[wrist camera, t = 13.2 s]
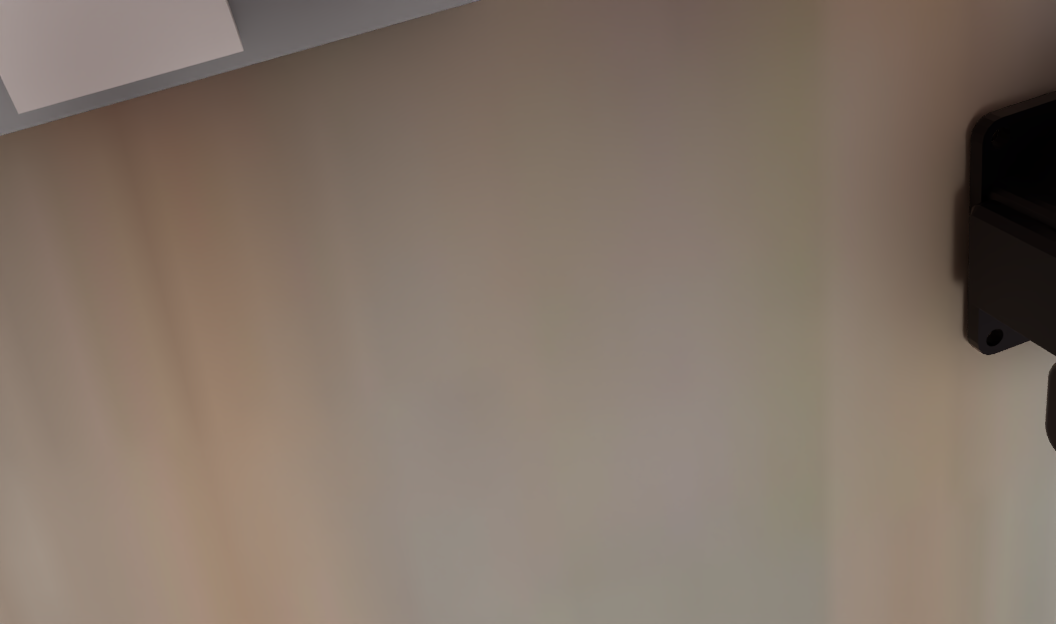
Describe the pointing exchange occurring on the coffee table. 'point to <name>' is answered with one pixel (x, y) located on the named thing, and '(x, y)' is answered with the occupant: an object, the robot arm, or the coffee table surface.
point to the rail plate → (160, 45)
